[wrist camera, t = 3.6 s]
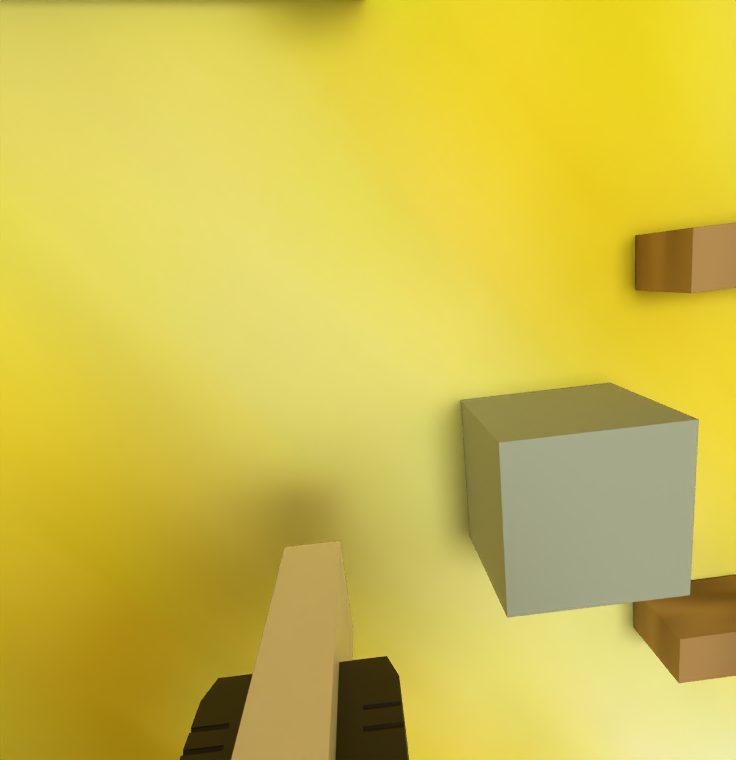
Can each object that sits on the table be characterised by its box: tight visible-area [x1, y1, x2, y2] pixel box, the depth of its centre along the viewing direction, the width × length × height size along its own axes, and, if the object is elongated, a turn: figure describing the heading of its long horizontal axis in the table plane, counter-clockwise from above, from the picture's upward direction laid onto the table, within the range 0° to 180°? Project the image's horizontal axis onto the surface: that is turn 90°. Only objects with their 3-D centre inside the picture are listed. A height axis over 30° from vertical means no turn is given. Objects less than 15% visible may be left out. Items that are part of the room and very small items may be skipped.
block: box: [461, 383, 699, 617], centre depth 17 cm, size 6×6×5 cm
